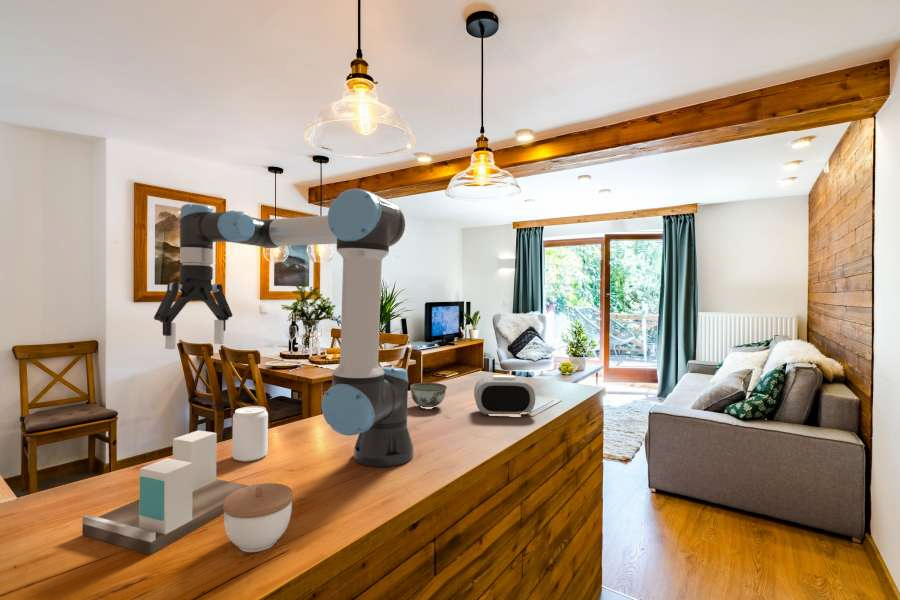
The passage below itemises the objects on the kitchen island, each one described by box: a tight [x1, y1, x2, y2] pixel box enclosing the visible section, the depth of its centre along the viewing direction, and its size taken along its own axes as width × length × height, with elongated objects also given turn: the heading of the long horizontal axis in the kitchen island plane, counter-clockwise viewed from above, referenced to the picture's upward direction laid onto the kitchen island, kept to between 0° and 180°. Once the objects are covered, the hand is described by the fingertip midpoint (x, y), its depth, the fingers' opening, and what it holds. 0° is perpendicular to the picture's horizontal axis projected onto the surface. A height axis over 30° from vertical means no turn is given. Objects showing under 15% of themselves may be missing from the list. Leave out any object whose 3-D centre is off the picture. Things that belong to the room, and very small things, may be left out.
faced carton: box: [138, 457, 193, 534], centre depth 76 cm, size 5×6×10 cm
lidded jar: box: [223, 482, 294, 553], centre depth 75 cm, size 11×11×9 cm
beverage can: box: [231, 405, 269, 462], centre depth 113 cm, size 8×8×12 cm
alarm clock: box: [473, 374, 536, 415], centre depth 158 cm, size 21×10×13 cm, turn 90°
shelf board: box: [82, 478, 250, 556], centre depth 84 cm, size 16×22×3 cm
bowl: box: [409, 382, 447, 407], centre depth 165 cm, size 14×13×8 cm
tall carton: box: [172, 430, 218, 492], centre depth 92 cm, size 5×6×10 cm
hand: (195, 346), depth 117 cm, fingers open, 13 cm apart
